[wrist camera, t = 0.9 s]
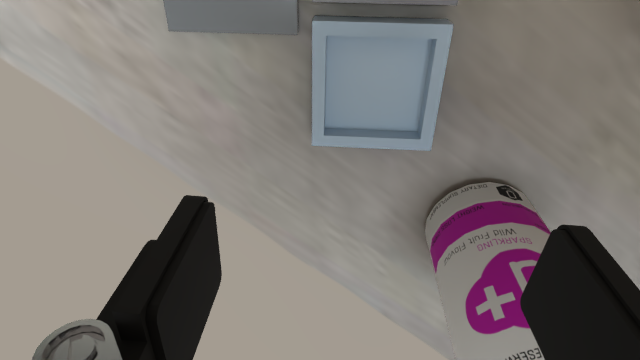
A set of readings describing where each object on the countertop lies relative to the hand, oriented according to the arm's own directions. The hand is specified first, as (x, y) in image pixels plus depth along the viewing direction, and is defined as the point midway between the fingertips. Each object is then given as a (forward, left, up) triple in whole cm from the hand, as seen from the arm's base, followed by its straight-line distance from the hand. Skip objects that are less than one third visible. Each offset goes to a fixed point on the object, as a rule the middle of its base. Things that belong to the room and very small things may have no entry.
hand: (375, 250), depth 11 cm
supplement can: (-10, +12, -18) cm, 23 cm away
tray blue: (-1, +1, -17) cm, 17 cm away
